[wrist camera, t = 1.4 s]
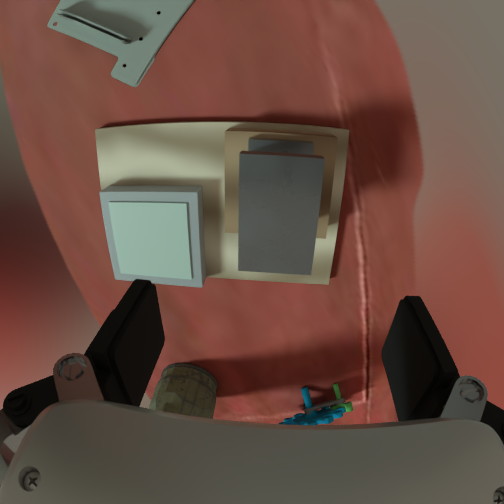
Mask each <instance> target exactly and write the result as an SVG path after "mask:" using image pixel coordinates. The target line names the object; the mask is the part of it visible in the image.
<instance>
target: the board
mask: <svg viewBox="0 0 504 504" xmlns="http://www.w3.org/2000/svg"><path fill="white" fill-rule="evenodd" d="M228 128H256V129H277V130H293V131H306V132H318V133H328V134H333V135H334V136H336V137H337V149H336V160H335V170H334V179H333V188H332V196H331V205H330V213H329V220H328V228H327V235H326V239H322V238H316V242H315V250H314V257H313V265H312V272H311V275H298V274H281V273H265V272H249V271H238V233H225V131H226V130H227V129H228ZM95 132H96V145H97V156H98V166H99V175H100V183H101V191H102V190H103V189H105V188H106V187H108V186H126V185H177V186H202V190H203V220H204V244H205V264H206V277H215V278H229V279H243V280H258V281H274V282H291V283H309V284H329V278H330V273H331V267H332V261H333V255H334V249H335V243H336V236H337V230H338V223H339V216H340V209H341V202H342V194H343V186H344V178H345V170H346V161H347V151H348V141H349V130H348V129H342V128H333V127H323V126H313V125H301V124H287V123H269V122H239V121H196V122H167V123H149V124H135V125H123V126H113V127H104V128H98V129H95Z"/></svg>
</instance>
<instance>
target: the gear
mask: <svg viewBox="0 0 504 504" xmlns="http://www.w3.org/2000/svg"><path fill="white" fill-rule="evenodd" d="M333 387H334V391H335V395H336V399H333V400H330V401H327V402H323V403H320V404H316V405H312V402H311V398H310V394H309V390H308V387H305V388H302V389H301V391H302V395H303V399H304V403H305V406H306V408H304V411H305V413H304V414H302V413H298V414H296V415H294V417H293V418H286V419H284V422H281V423H279V424H284V425H318V424H322V423H323V424H329V423H331V422H333V421H334V418H340V417H342V416H343V413H344V412H350V411H352V410H353V407H352V403H351V401H350V402H346V403H344V402H345V398H344V397H341V394H340V391H339V387H338V383H337V384H333ZM333 404H335V405H333ZM329 405H332V406H330V408H329ZM344 406H345V407H344ZM319 408H321V410H319V411H316V409H319ZM345 408H346V409H345Z"/></svg>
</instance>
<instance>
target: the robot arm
mask: <svg viewBox="0 0 504 504" xmlns="http://www.w3.org/2000/svg"><path fill="white" fill-rule="evenodd" d="M164 341H165V336H164V330H163V325H162V320H161V314H160V309H159V303H158V297H157V291H156V286H155V285H154V284H152V283H151V281H150V280H144V279H135V280H134V281H133V283H132V284H131V286H130V287H129V289H128V290H127V292H126V293H125V295H124V296H123V298H122V299H121V301H120V302H119V304H118V305H117V307H116V308H115V310H113V311H112V312H111V313H110V314H109V316H108V317H107V319H106V321H105V322H104V324H103V325H102V327H101V328H100V330H99V331H98V333H97V335H96V336H95V338H94V339H93V341H92V342H91V344H90V346H89V347H88V349H87V351H86V352H85V354H84V355H83V354H79V353H72V354H67V355H65V356H63V357H61V358H60V359H59V360H58V361H57V362H56V363H55V365H54V368H53V375H52V376H49V377H47V378H44V379H42V380H39V381H37V382H34V383H31V384H28V385H26V386H23V387H20V388H18V389H15V390H13V391H12V392H10V393H9V394H8V395H7V397H6V398H5V400H4V403H3V409H1V410H0V504H504V410H502V409H501V408H499V407H497V406H495V405H494V404H492V403H490V402H489V401H487V395H488V394H487V389H486V387H485V385H484V384H483V383H482V382H481V381H480V380H479V379H477V378H475V377H472V376H462V377H460V376H459V373H458V370H457V368H456V365H455V363H454V361H453V359H452V357H451V355H450V352H449V350H448V349H447V346H446V344H445V342H444V340H443V338H442V337H441V334H440V333H439V330H438V329H437V327H436V325H435V323H434V321H433V319H432V317H431V315H430V313H429V312H428V310H427V308H426V306H425V304H424V302H423V301H422V299H421V297H419V296H405V298H404V299H402V300H400V302H399V305H398V308H397V311H396V314H395V316H394V319H393V322H392V325H391V328H390V330H389V333H388V336H387V338H386V341H385V344H384V346H383V349H382V360H383V364H384V367H385V371H386V374H387V378H388V382H389V385H390V389H391V393H392V397H393V400H394V404H395V408H396V412H397V416H398V420H399V422H386V423H372V424H353V425H284V424H265V423H250V422H239V421H228V420H219V419H211V418H203V417H195V416H189V415H182V414H176V413H170V412H164V411H158V410H152V409H147V408H142V407H139V406H140V403H141V401H142V398H143V395H144V393H145V390H146V388H147V385H148V383H149V380H150V378H151V375H152V373H153V370H154V368H155V365H156V363H157V360H158V358H159V355H160V353H161V350H162V348H163V345H164Z"/></svg>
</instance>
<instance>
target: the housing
mask: <svg viewBox="0 0 504 504" xmlns="http://www.w3.org/2000/svg"><path fill="white" fill-rule="evenodd" d="M313 148H314V143H313V141H300V140H286V139H268V138H249V140H248V151H241V152H240V154H239V220H238V271H249V272H265V273H281V274H298V275H311V272H312V265H313V257H314V250H315V242H316V235H317V226H318V218H319V210H320V201H321V191H322V182H323V172H324V161H325V159H324V157H323V156H320V155H313Z"/></svg>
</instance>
